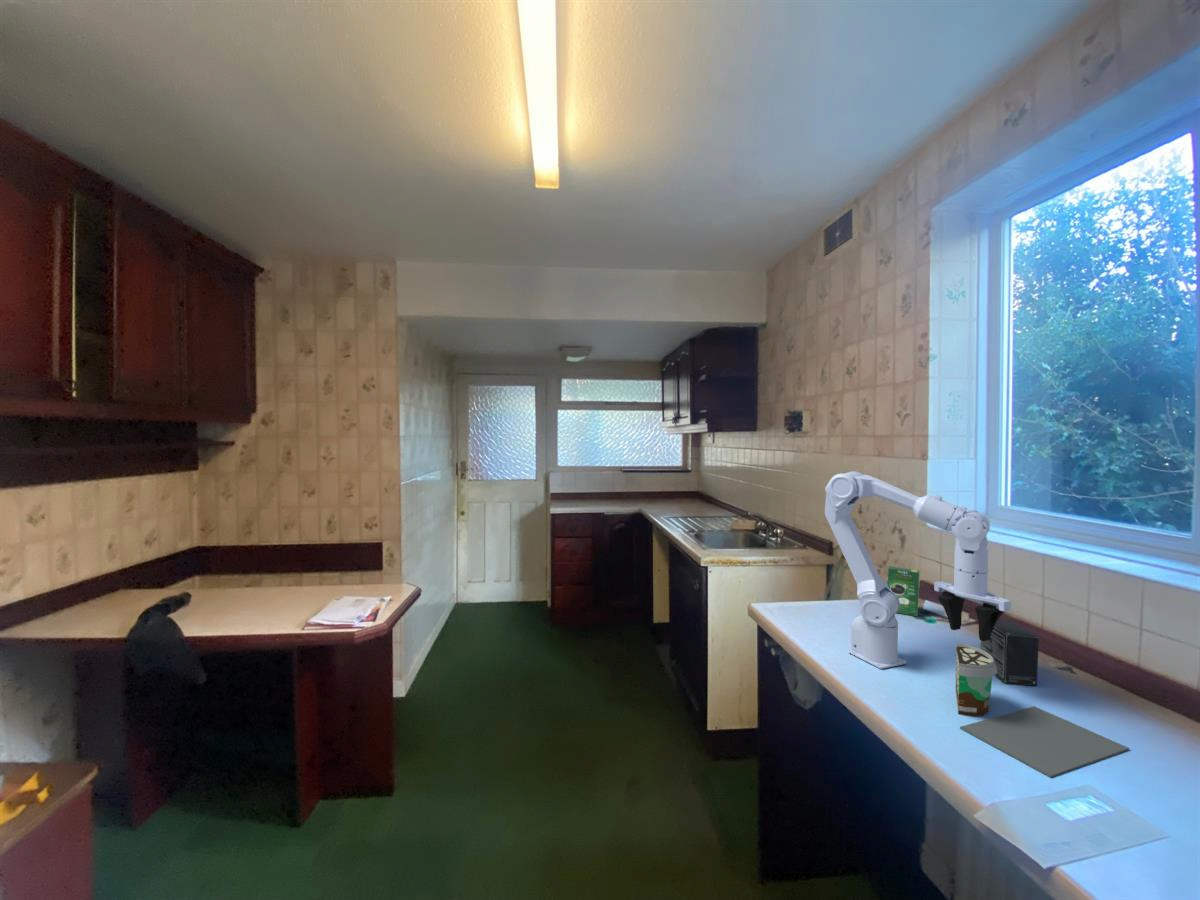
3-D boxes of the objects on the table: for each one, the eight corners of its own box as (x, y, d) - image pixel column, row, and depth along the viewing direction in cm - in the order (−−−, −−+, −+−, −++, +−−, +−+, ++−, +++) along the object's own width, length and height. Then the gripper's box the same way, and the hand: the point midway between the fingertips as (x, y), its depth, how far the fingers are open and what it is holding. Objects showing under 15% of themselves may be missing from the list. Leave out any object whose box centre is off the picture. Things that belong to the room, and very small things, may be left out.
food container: (1000, 727, 92) (1001, 672, 92) (958, 717, 96) (959, 664, 95) (992, 697, 103) (993, 647, 103) (955, 689, 106) (955, 641, 106)
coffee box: (919, 614, 149) (919, 569, 149) (918, 617, 147) (919, 571, 147) (887, 609, 154) (888, 565, 153) (886, 612, 152) (886, 567, 151)
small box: (1040, 687, 107) (1041, 637, 106) (1004, 684, 108) (1005, 635, 108) (1010, 664, 117) (1011, 619, 117) (978, 662, 118) (979, 617, 118)
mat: (959, 728, 92) (959, 726, 92) (1034, 707, 99) (1034, 706, 99) (1050, 777, 79) (1050, 775, 79) (1129, 749, 86) (1129, 748, 86)
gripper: (1021, 577, 102) (1020, 644, 103) (950, 560, 116) (949, 620, 116) (997, 580, 100) (996, 650, 100) (927, 563, 114) (926, 624, 114)
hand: (969, 634), depth 108 cm, fingers open, 5 cm apart
